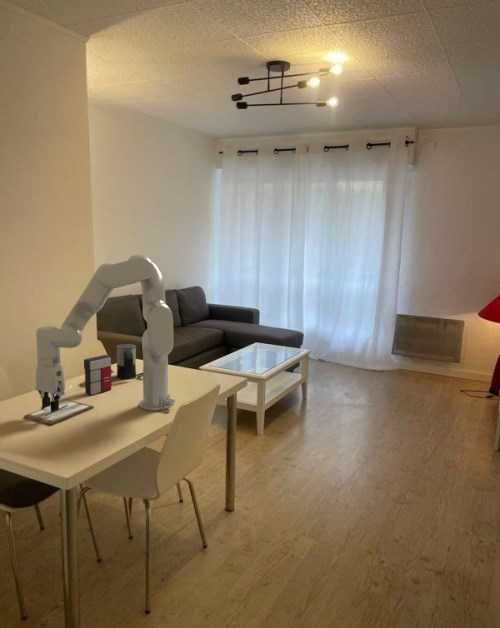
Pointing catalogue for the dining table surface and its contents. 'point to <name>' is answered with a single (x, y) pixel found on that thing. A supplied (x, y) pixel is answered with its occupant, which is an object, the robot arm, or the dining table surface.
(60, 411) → the clipboard
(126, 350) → the milk frother
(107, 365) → the grey and red box
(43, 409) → the picture light
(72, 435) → the dining table surface
